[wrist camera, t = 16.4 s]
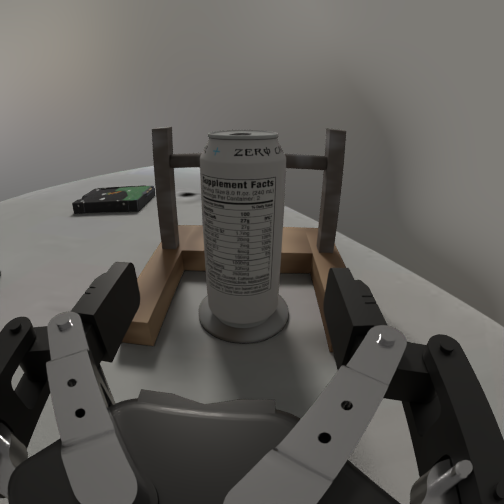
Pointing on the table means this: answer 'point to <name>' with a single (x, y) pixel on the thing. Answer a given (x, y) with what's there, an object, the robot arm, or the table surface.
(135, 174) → the table surface
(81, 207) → the disk drive
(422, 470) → the robot arm
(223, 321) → the energy drink can
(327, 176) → the wooden crossbar stand
